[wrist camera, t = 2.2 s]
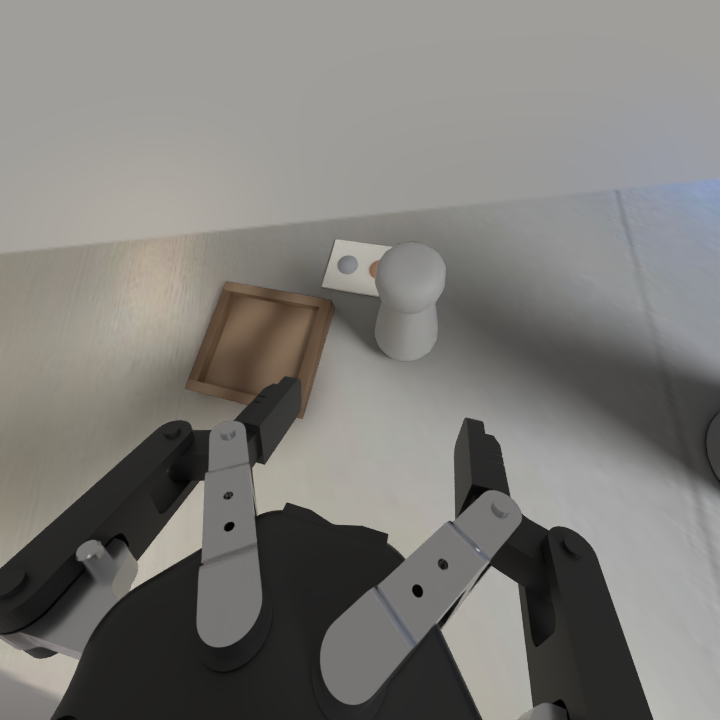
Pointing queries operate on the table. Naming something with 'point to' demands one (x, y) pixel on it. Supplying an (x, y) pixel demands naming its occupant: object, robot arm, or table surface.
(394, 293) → the salt shaker
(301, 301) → the walnut tray
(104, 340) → the table surface
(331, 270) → the card
